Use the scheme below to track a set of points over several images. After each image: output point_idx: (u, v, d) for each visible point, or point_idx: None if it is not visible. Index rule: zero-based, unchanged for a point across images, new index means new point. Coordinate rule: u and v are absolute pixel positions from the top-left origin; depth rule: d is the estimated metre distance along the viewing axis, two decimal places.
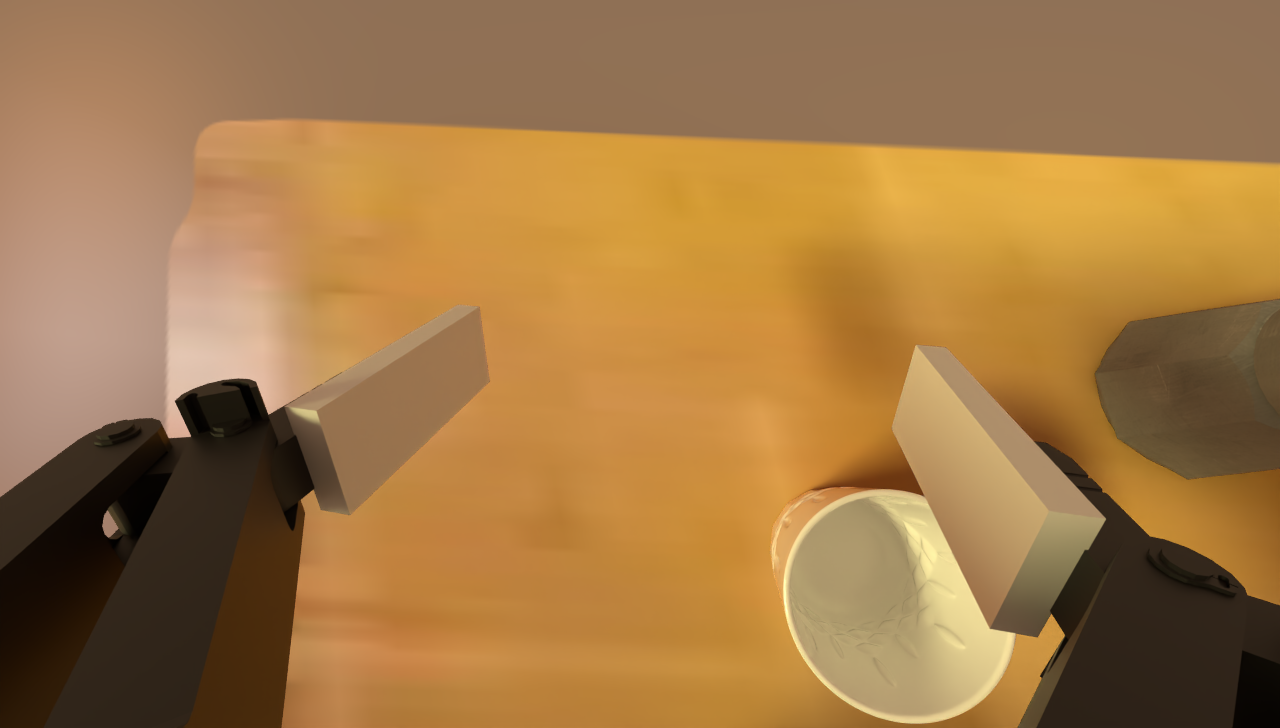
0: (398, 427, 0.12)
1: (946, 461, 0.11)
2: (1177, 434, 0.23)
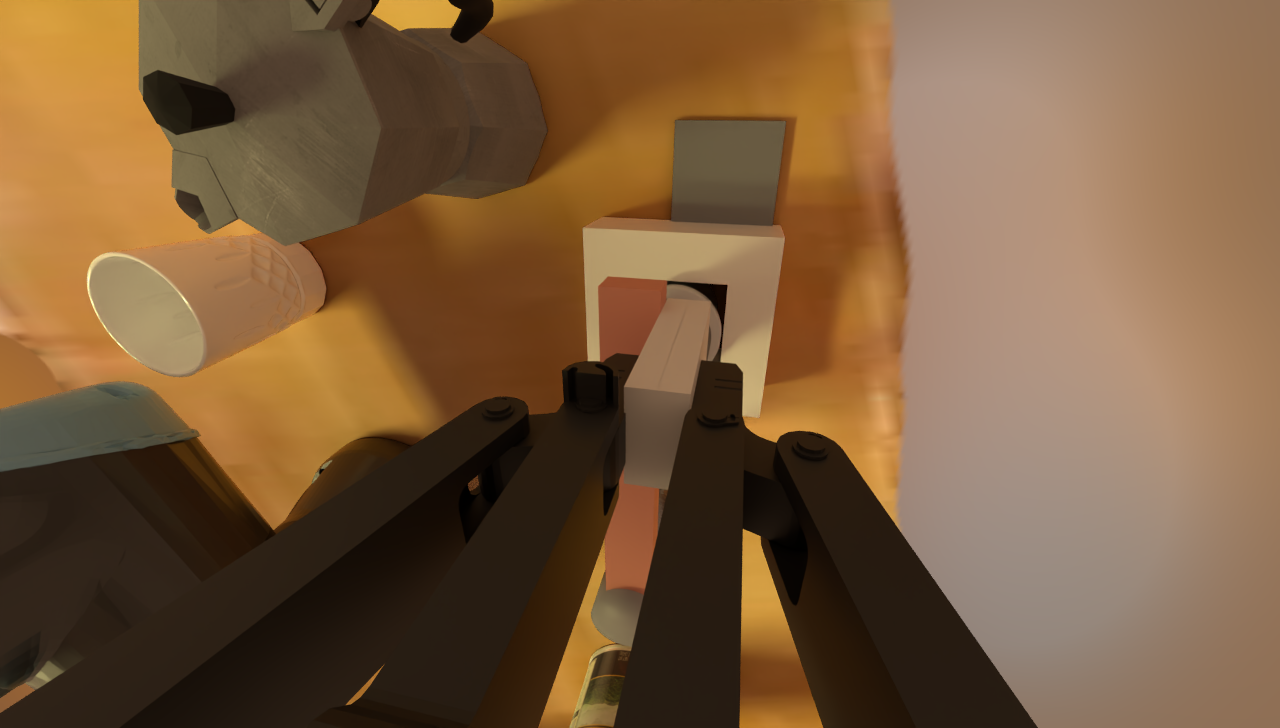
0: None
1: None
2: None
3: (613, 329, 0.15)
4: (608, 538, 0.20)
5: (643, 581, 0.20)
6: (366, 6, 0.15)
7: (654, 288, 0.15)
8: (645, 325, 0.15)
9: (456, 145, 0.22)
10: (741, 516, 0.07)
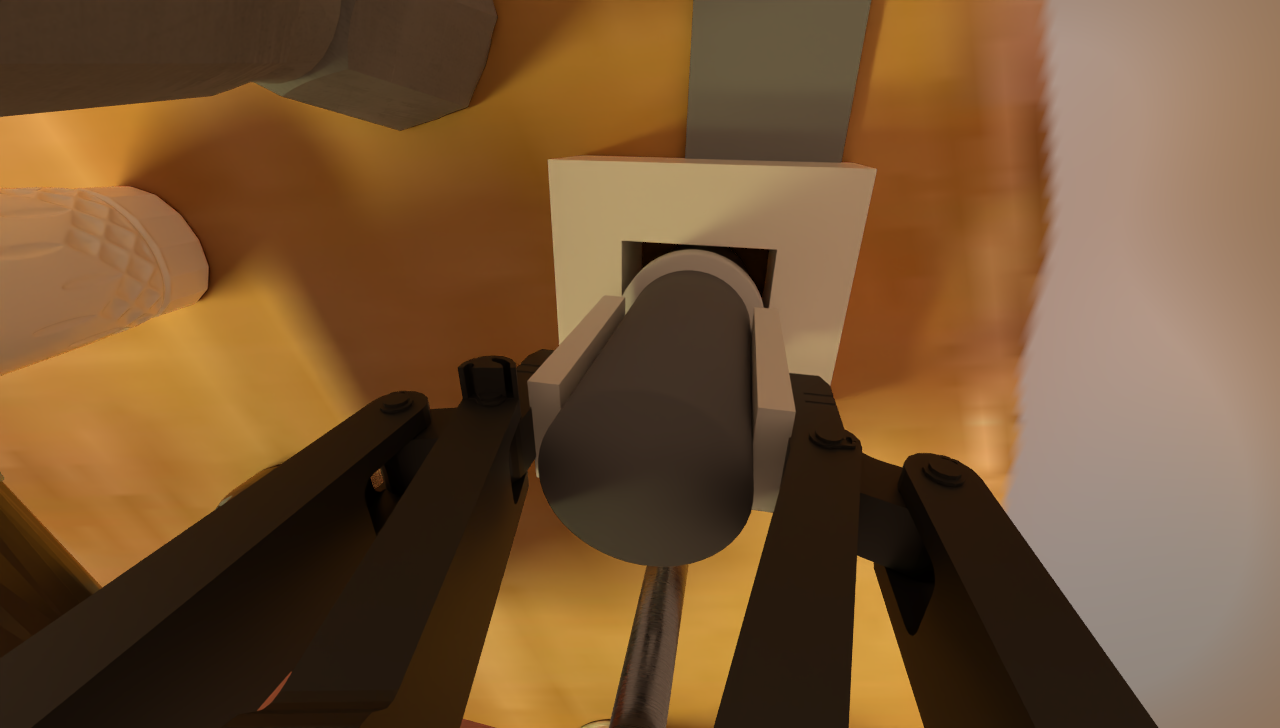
0: None
1: None
2: None
3: None
4: None
5: None
6: None
7: None
8: None
9: None
10: (855, 549, 0.07)
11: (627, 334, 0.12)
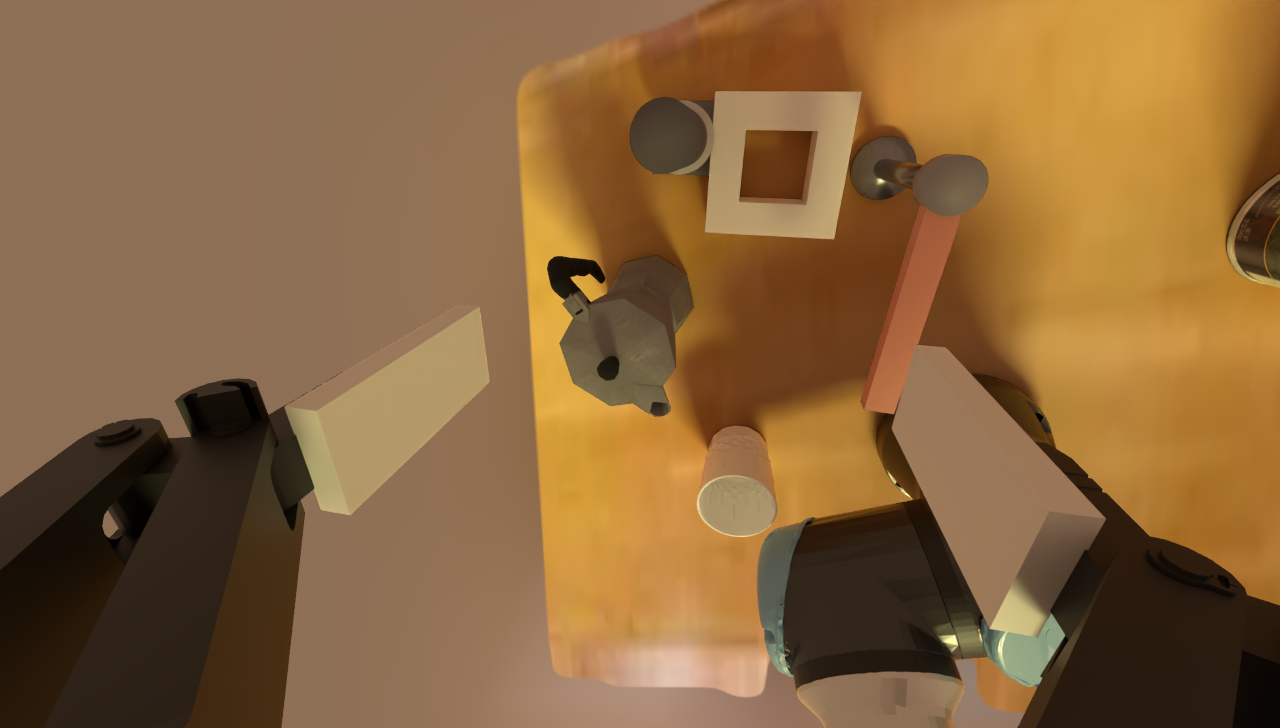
0: (398, 427, 0.12)
1: (946, 461, 0.11)
2: None
3: (892, 395, 0.33)
4: (942, 264, 0.29)
5: (927, 225, 0.28)
6: (582, 293, 0.36)
7: (866, 408, 0.34)
8: (875, 396, 0.33)
9: (649, 292, 0.42)
10: None
11: None
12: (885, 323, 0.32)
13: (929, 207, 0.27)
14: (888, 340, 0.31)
